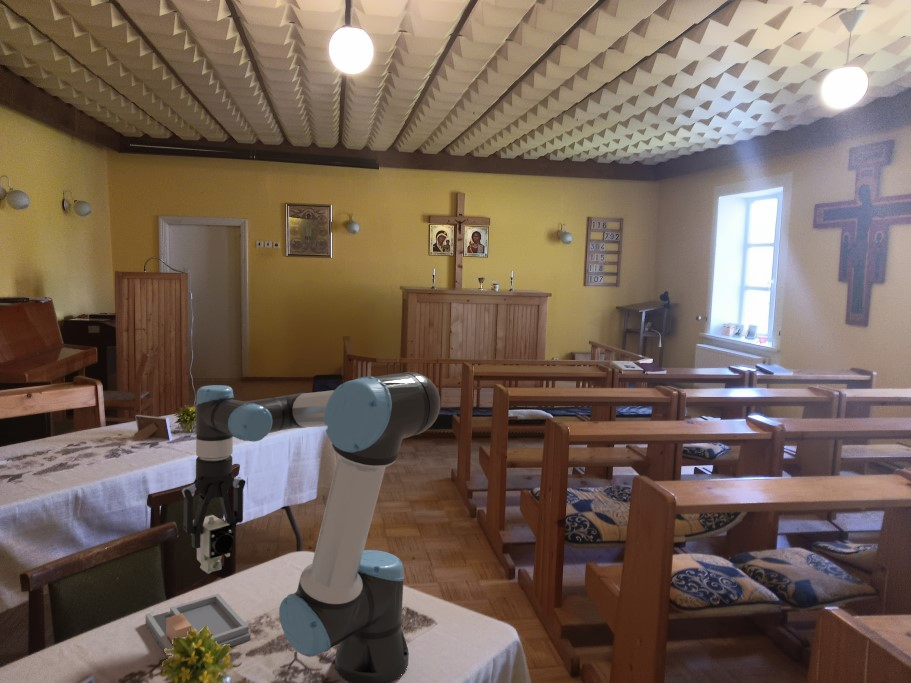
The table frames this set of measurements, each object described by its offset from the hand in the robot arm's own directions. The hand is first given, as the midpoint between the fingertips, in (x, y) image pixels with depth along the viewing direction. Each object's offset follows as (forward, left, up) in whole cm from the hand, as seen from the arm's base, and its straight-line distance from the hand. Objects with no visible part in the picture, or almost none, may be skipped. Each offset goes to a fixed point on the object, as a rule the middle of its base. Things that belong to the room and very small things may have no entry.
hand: (213, 557), depth 140 cm
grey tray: (0, +3, -16) cm, 17 cm away
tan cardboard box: (-4, +9, -15) cm, 18 cm away
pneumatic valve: (0, 0, -3) cm, 3 cm away
